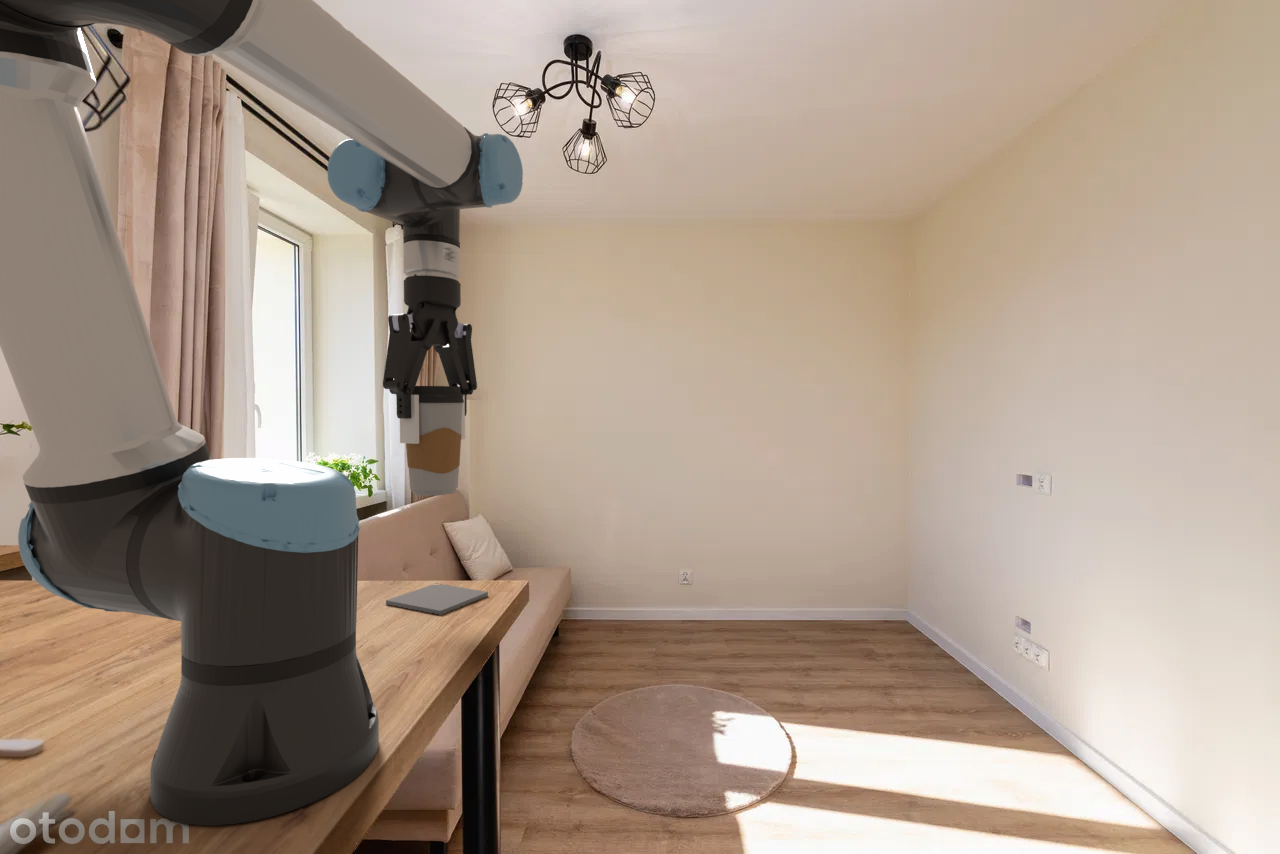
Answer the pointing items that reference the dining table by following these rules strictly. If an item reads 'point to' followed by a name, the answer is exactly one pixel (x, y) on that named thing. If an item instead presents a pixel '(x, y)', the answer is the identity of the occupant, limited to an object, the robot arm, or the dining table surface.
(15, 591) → the dining table surface
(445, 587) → the coaster
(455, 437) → the coffee cup
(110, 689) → the dining table surface
